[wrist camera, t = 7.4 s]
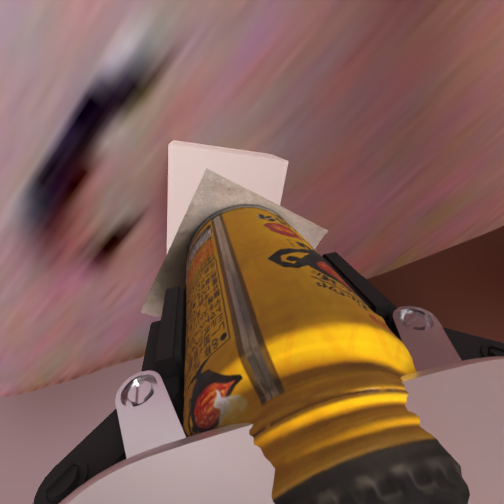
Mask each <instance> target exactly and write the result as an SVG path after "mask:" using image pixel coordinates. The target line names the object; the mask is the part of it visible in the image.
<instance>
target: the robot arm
mask: <svg viewBox="0 0 504 504" xmlns="http://www.w3.org/2000/svg"><path fill="white" fill-rule="evenodd" d="M323 259H324V260H325V261H327V262H328V263H329V264H330V265H331V267H332V269H333V270H334V271H335V272H336V273H337V274H338V275H339V276H340V277H341V278H342V279H343V280H344V282H345V283H346V284H347V285H348V286H349V287H350V288H351V289H352V290H353V291H354V292H355V293H356V294H357V295H358V296H359V297H360V298H361V299H362V300H363V301H364V302H365V303H366V305H367V306H368V307H369V308H370V309H371V310H372V311H373V312H374V313H375V314H377V315H379V316H381V317H382V318H383V319H384V321H385V323H386V325H387V326H388V328H389V329H390V330H391V332H392V333H394V335H395V336H396V337H397V338H398V339H400V340H401V341H402V342H403V344H404V345H405V347H406V348H407V349H408V351H409V353H410V355H411V357H412V359H413V364H414V366H415V369H416V372H415V373H411V374H407V375H404V376H402V377H400V379H402V383H403V384H404V387H405V390H406V391H407V392H408V393H409V395H408V396H407V402H406V404H405V407H406V408H407V410H408V411H410V412H413V413H415V414H416V415H417V416H418V417H419V419H420V427H421V428H423V429H424V430H426V431H427V432H429V433H430V434H431V435H433V436H434V437H435V438H436V439H437V440H438V441H439V443H440V444H441V445H442V446H443V447H444V448H445V450H446V451H447V452H448V453H449V454H450V455H451V456H452V457H453V458H454V459H455V460H456V461H457V462H458V464H459V465H460V466H461V473H462V478H463V479H464V481H465V482H466V484H467V485H468V488H469V492H470V497H469V500H468V504H504V344H503V343H500V342H496V341H493V340H489V339H485V338H481V337H477V336H473V335H470V334H466V333H462V332H458V331H454V330H450V329H447V328H443V327H442V326H441V325H440V323H439V321H438V320H437V318H436V317H435V316H434V315H433V314H432V313H430V312H429V311H427V310H424V309H422V308H419V307H414V306H402V307H399V308H397V307H395V305H393V304H392V303H391V302H390V301H389V300H388V299H387V298H386V297H385V296H384V295H382V294H381V293H380V292H379V291H378V290H377V289H376V288H375V287H374V286H373V285H372V284H370V282H368V281H367V280H366V279H365V278H364V277H363V276H361V275H360V274H359V273H358V272H357V271H356V270H355V269H354V268H352V267H351V266H350V265H349V264H348V263H347V262H346V261H345V260H344V259H343V258H342V257H341V256H339V255H338V254H337V253H336V252H334V253H329V254H324V255H323ZM185 337H186V290H185V288H183V289H180V287H179V286H177V287H172V288H167V289H166V291H165V298H164V304H163V310H162V317H161V321H156V322H153V323H152V324H151V326H150V331H149V336H148V341H147V346H146V351H145V356H144V361H143V366H142V371H141V372H139V373H137V374H134V375H133V376H132V377H130V378H128V379H127V380H126V381H125V382H124V383H123V384H122V385H121V387H120V388H119V390H118V392H117V395H116V400H115V403H116V409H115V410H114V411H113V412H112V413H111V414H110V415H109V416H108V417H107V418H106V419H105V420H104V421H103V422H102V423H101V424H99V426H97V427H96V428H95V429H94V430H93V431H92V432H91V433H90V434H89V435H88V436H87V437H86V438H85V439H84V440H83V441H82V442H81V443H80V444H78V445H77V446H76V447H75V448H74V449H73V450H72V451H71V452H70V453H69V454H68V455H67V456H66V457H65V458H64V459H63V460H62V461H61V462H60V463H59V464H57V465H56V466H55V467H54V468H53V469H52V471H51V472H50V473H49V474H48V475H47V476H46V477H45V479H44V480H43V482H42V484H41V485H40V487H39V488H38V491H37V493H36V496H35V498H34V502H33V503H32V504H275V503H274V502H273V500H272V497H271V496H272V488H273V482H274V474H275V468H274V467H273V465H272V464H271V463H270V461H269V460H267V459H266V458H265V457H264V455H263V452H262V450H261V448H260V447H258V446H256V445H254V438H253V437H252V436H251V435H249V430H250V429H251V428H252V426H253V423H238V424H231V425H227V426H223V427H220V428H216V429H213V430H210V431H206V432H203V433H200V434H196V435H193V436H190V437H187V438H186V436H185V433H184V430H183V423H184V418H183V411H184V410H183V409H184V380H185V377H184V369H185Z"/></svg>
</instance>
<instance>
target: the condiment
mask: <svg viewBox="0 0 504 504" xmlns="http://www.w3.org/2000/svg"><path fill="white" fill-rule="evenodd" d="M327 232H328V230H326V229H324V228H322V227H320V226H318V225H316V224H314V223H312V222H311V221H309V220H307V219H305V218H303V217H301V216H299V215H297V214H295V213H293V212H291V211H289V210H287V209H285V208H283V207H282V206H280V205H278V204H276V203H274V202H272V201H270V200H268V199H266V198H264V197H262V196H260V195H258V194H256V193H254V192H252V191H250V190H248V189H246V188H244V187H242V186H241V185H238V184H236V183H234V182H232V181H230V180H228V179H226V178H224V177H222V176H220V175H219V174H217V173H215V172H213V171H211V170H209V169H207V168H206V170H205V172H204V175H203V177H202V179H201V181H200V183H199V185H198V188H197V190H196V192H195V194H194V196H193V198H192V200H191V203H190V205H189V207H188V210H187V212H186V214H185V216H184V218H183V220H182V222H181V224H180V226H179V229H178V231H177V233H176V235H175V238H174V240H173V242H172V244H171V247H170V248H169V251H168V253H167V256H166V258H165V260H164V262H163V265H162V266H161V269H160V271H159V273H158V275H157V277H156V279H155V281H154V283H153V286H152V288H151V291H150V293H149V295H148V298H147V300H146V302H145V304H144V306H143V308H142V310H141V313H143V314H147V315H151V316H159V317H162V310H163V304H164V298H165V291H166V289H167V288H172V287H177V286H179V287H180V289H183V288H185V290H186V337H185V369H184V377H185V380H184V409H183V410H184V411H183V418H184V423H183V430H184V433H185V436H186V438H187V437H190V436H193V435H196V434H200V433H203V432H206V431H210V430H213V429H216V428H220V427H223V426H227V425H231V424H238V423H253V426H252V428H251V429H250V430H249V435H251V436H252V437H253V438H254V445H256V446H258V447H260V448H261V450H262V452H263V455H264V457H265V458H266V459H267V460H269V461H270V463H271V464H272V465H273V467H274V468H275V474H274V482H273V488H272V496H271V497H272V500H273V502H274V503H275V504H468V500H469V497H470V492H469V488H468V485H467V484H466V482H465V481H464V479H463V478H462V473H461V466H460V465H459V464H458V462H457V461H456V460H455V459H454V458H453V457H452V456H451V455H450V454H449V453H448V452H447V451H446V450H445V448H444V447H443V446H442V445H441V444H440V443H439V441H438V440H437V439H436V438H435V437H434V436H433V435H431V434H430V433H429V432H427V431H426V430H424V429H423V428H421V427H420V419H419V417H418V416H417V415H416V414H415V413H413V412H410V411H408V410H407V408H406V407H405V404H406V402H407V396H408V395H409V393H408V392H407V391H406V390H405V387H404V384H403V383H402V379H400V377H402V376H404V375H407V374H411V373H415V372H416V369H415V366H414V364H413V359H412V357H411V355H410V353H409V351H408V349H407V348H406V347H405V345H404V344H403V342H402V341H401V340H400V339H398V338H397V337H396V336H395V335H394V333H392V332H391V330H390V329H389V328H388V326H387V325H386V323H385V321H384V319H383V318H382V317H381V316H379V315H377V314H375V313H374V312H373V311H372V310H371V309H370V308H369V307H368V306H367V305H366V303H365V302H364V301H363V300H362V299H361V298H360V297H359V296H358V295H357V294H356V293H355V292H354V291H353V290H352V289H351V288H350V287H349V286H348V285H347V284H346V283H345V282H344V280H343V279H342V278H341V277H340V276H339V275H338V274H337V273H336V272H335V271H334V270H333V269H332V267H331V265H330V264H329V263H328V262H327V261H325V260H324V259H323V257H322V256H321V255H319V254H318V253H317V252H316V251H315V249H316V247H317V245H318V244H319V242H320V241H321V240H322V238H323V237H324V235H325V234H326V233H327Z"/></svg>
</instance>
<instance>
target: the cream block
mask: <svg viewBox="0 0 504 504" xmlns="http://www.w3.org/2000/svg"><path fill="white" fill-rule="evenodd" d="M287 167H288V161H287V160H284V159H282V158H280V157H277V156H275V155H272V154H267V153H260V152H253V151H246V150H239V149H232V148H225V147H218V146H211V145H204V144H197V143H189V142H182V141H175V140H173V141H172V142H171V143H170V144H169V145H168V206H167V253H168V251H169V248H170V247H171V244H172V242H173V240H174V238H175V235H176V233H177V231H178V229H179V226H180V224H181V222H182V220H183V218H184V216H185V214H186V212H187V210H188V207H189V205H190V203H191V200H192V198H193V196H194V194H195V192H196V190H197V188H198V185H199V183H200V181H201V179H202V177H203V175H204V172H205V170H206V168H207V169H209V170H211V171H213V172H215V173H217V174H219V175H220V176H222V177H224V178H226V179H228V180H230V181H232V182H234V183H236V184H238V185H241V186H242V187H244V188H246V189H248V190H250V191H252V192H254V193H256V194H258V195H260V196H262V197H264V198H266V199H268V200H270V201H272V202H274V203H276V204H278V205H280V203H281V198H282V193H283V187H284V182H285V177H286V172H287Z"/></svg>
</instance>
